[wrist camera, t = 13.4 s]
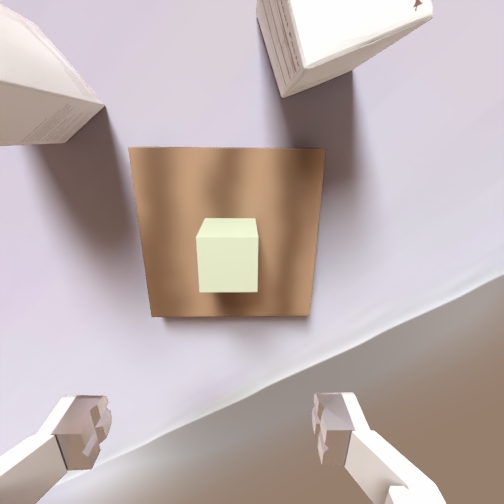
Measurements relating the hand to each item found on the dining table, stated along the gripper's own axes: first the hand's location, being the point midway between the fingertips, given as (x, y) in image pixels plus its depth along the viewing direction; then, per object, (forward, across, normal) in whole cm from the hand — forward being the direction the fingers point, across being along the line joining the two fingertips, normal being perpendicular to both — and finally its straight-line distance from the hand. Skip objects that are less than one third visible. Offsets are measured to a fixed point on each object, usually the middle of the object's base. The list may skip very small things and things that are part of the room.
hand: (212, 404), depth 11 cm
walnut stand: (+22, 0, 0) cm, 23 cm away
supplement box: (+23, -7, -18) cm, 30 cm away
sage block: (+20, 0, 0) cm, 20 cm away
